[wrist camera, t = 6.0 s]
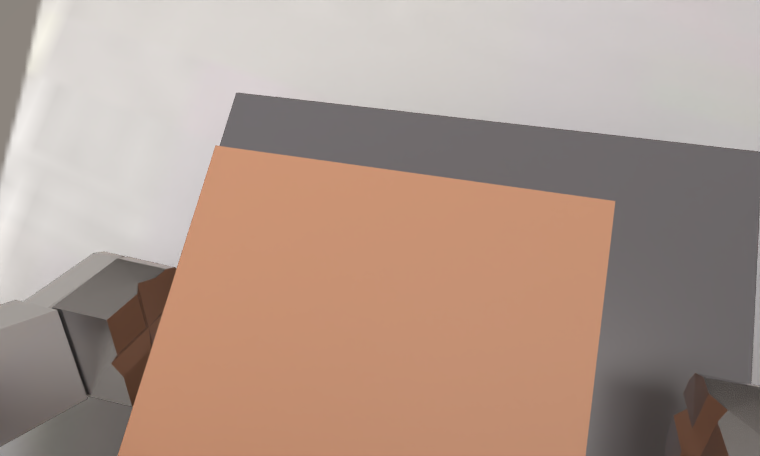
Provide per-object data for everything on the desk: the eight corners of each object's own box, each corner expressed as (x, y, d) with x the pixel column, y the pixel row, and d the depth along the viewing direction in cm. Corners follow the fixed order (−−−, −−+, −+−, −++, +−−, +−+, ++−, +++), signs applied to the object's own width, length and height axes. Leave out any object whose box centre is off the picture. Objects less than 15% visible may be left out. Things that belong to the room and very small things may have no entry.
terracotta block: (359, 276, 14) (215, 145, 6) (537, 310, 13) (614, 201, 5) (317, 458, 13) (85, 558, 5) (509, 511, 12) (554, 727, 4)
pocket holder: (265, 128, 16) (236, 92, 14) (722, 186, 13) (762, 152, 11) (131, 583, 13) (71, 616, 11) (681, 784, 10) (726, 875, 8)
